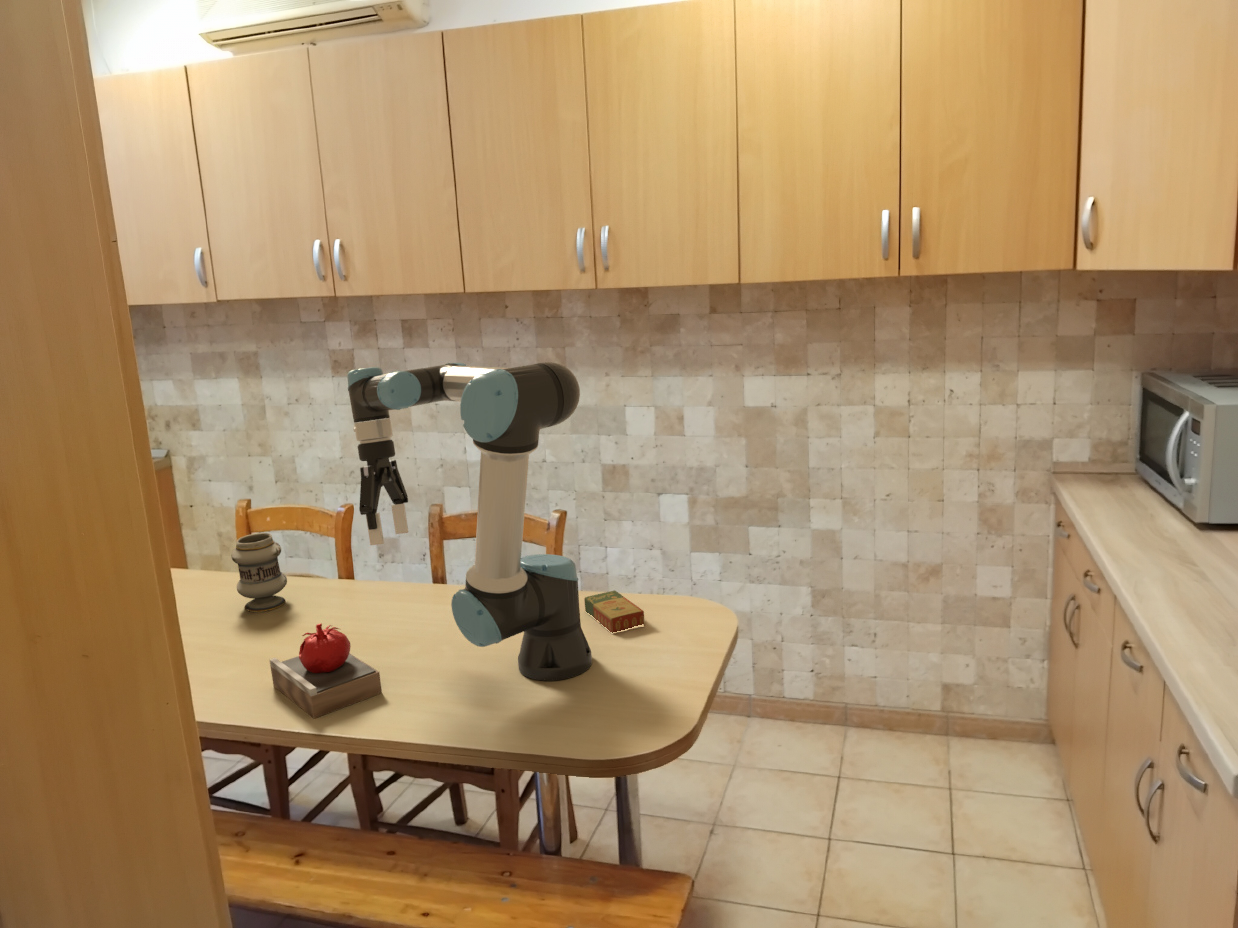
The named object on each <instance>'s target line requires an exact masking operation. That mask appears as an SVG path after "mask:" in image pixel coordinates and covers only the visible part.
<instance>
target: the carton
mask: <svg viewBox="0 0 1238 928" xmlns="http://www.w3.org/2000/svg"><path fill="white" fill-rule="evenodd" d="M584 608H585V609H584V612H585V611H586V612H587V613H589V614H590V615H592V616H593V617H594V618H595V619H596V620H598V621H599V622H600V623H601V624H602V625H603V626H604V627H606V628H607V629H608V630H609V631H610V632H612V633H613V632H617V631H621V630H625V629H628V628H632V627H634V626H638V625H642V624H644V625H645V610H644V609H642V608H640V607H639V606H637V605H636V604H635V603H633V602H632V601H630V600H629V599H628V598H626V597H625V596H623V595H622V594H621V593H619V592H618V591H616V590H611V591H607V592H606V591H605V592H601V593H598V594H593V595H589V596H585V597H584ZM586 612H585V613H586ZM587 613H586V614H587ZM590 615H589V616H590ZM595 619H594V620H595ZM596 620H595V621H596ZM602 625H601V626H602ZM603 626H602V627H603ZM604 627H603V628H604ZM608 630H607V631H608ZM609 631H608V632H609ZM610 632H609V633H610Z"/></svg>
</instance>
